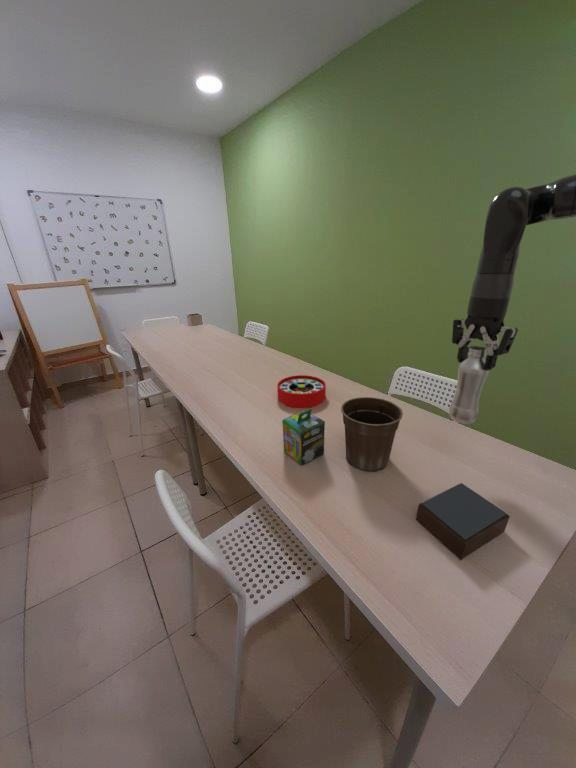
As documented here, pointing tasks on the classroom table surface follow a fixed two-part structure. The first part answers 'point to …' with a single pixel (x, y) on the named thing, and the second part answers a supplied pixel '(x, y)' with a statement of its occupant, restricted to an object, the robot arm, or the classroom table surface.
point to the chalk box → (303, 436)
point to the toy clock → (301, 391)
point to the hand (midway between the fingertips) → (474, 365)
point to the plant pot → (370, 431)
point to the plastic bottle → (469, 386)
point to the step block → (461, 519)
